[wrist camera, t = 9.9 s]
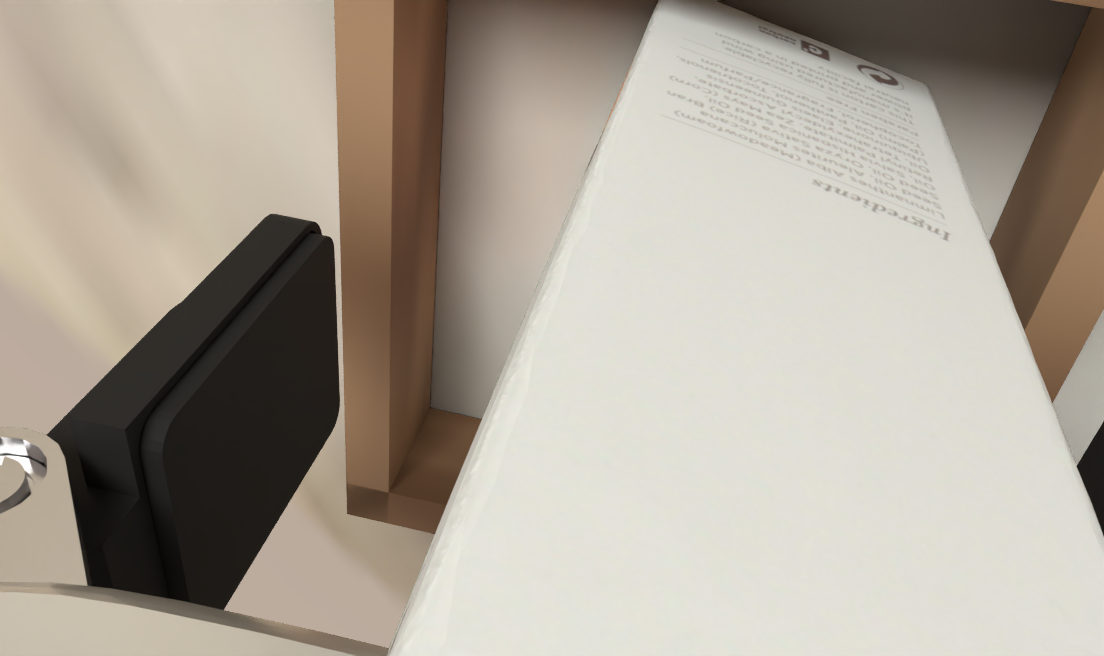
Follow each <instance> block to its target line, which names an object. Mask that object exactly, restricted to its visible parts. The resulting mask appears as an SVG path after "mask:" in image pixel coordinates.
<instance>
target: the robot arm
mask: <svg viewBox="0 0 1104 656" xmlns="http://www.w3.org/2000/svg"><path fill="white" fill-rule="evenodd" d="M339 407H340V395H339V367H338V340H337V312H336V285H335V257H334V244H333V241H332V239H331V238H330V237H328V236H323V235H322V233H321V229H320V227H319V225H318V224H317V223H316V222H312V221H307V220H302V219H297V218H292V217H287V216H282V215H277V214H270V215H268V216H267V217H265V218H264V219H263V220H262V221H261V222H260V223H259V224H258V225H257V226H256V227H255V228H254V229H253V230H252V231H251V232H250V233H249V235H248V236H247V237H246V238H245V239H244V240H243V241H242V242H241V243H240V244H239V245H238V246H237V247H236V248H235V249H234V250H233V251H232V252H231V253H230V254H229V255H228V256H227V257H226V258H225V259H224V260H223V261H222V262H221V263H220V264H219V265H218V266H217V267H216V268H215V269H214V270H213V271H212V272H211V273H210V274H209V275H208V276H207V277H206V278H205V279H204V280H203V281H202V282H201V283H200V284H199V285H198V286H197V287H196V288H195V289H194V290H193V291H192V292H191V293H190V294H189V295H188V296H187V297H186V298H185V299H184V300H183V301H182V302H181V303H179V304H178V305H177V306H175V307H174V308H173V309H171V310H170V311H169V312H168V313H167V314H166V315H165V316H164V317H163V318H162V319H161V320H160V321H159V322H158V323H157V324H156V325H155V326H154V327H153V328H152V329H151V330H150V331H149V332H148V333H147V334H146V335H145V336H144V337H143V338H142V339H141V340H140V341H139V342H138V343H137V344H136V345H135V346H134V347H133V348H132V349H131V350H130V351H129V352H128V353H127V354H126V355H125V356H124V357H123V358H122V359H121V361H120V362H119V363H118V364H117V365H116V366H115V367H114V368H113V369H112V370H111V371H110V372H109V373H108V374H107V375H106V376H105V377H104V378H103V379H102V380H101V381H100V382H99V383H98V384H97V385H96V386H95V387H94V388H93V389H92V390H91V391H90V392H89V393H88V394H87V395H86V396H85V397H84V398H83V399H82V400H81V401H80V402H79V403H78V404H77V405H76V406H75V407H74V408H73V409H72V410H71V411H70V412H69V413H68V414H67V415H66V416H65V417H64V418H63V419H62V420H61V421H60V422H59V423H58V424H57V425H56V426H55V427H54V428H53V429H52V430H51V431H50V432H49V433H48V434H47V435H46V434H43V433H40V432H36V431H33V430H30V429H27V428H14V427H0V656H387V654H388V650H389V648H385V647H381V646H377V645H373V644H368V643H365V642H361V641H356V640H352V639H348V638H343V637H339V636H335V635H331V634H327V633H323V632H319V631H314V630H310V629H305V628H301V627H296V626H291V625H287V624H283V623H279V622H274V621H269V620H265V619H261V618H255V617H252V616H247V615H243V614H238V613H234V612H229V611H224V608H225V607H226V605H227V603H228V602H229V600H230V598H231V597H232V595H233V593H234V592H235V590H236V589H237V587H238V585H239V583H240V582H241V580H242V579H243V577H244V575H245V574H246V572H247V570H248V569H249V567H250V565H251V564H252V562H253V561H254V559H255V557H256V556H257V554H258V552H259V551H260V549H261V548H262V546H263V544H264V543H265V541H266V539H267V537H268V536H269V534H270V533H271V531H272V529H273V528H274V526H275V524H276V523H277V521H278V520H279V518H280V516H281V514H282V513H283V511H284V510H285V508H286V506H287V505H288V503H289V501H290V500H291V498H292V497H293V495H294V493H295V492H296V490H297V488H298V487H299V485H300V483H301V482H302V480H303V478H304V477H305V475H306V474H307V472H308V470H309V469H310V467H311V465H312V464H313V462H314V460H315V459H316V457H317V455H318V454H319V452H320V450H321V449H322V447H323V446H324V444H325V442H326V441H327V439H328V437H329V436H330V434H331V432H332V430H333V428H334V426H335V424H336V421H337V417H338V413H339ZM1077 469H1078V471H1079V474H1080V476H1081V479H1082V481H1083V484H1084V486H1085V488H1086V491H1087V493H1088V496H1089V498H1090V501H1091V503H1092V506H1093V509H1094V511H1095V514H1096V517H1097V519H1098V522H1099V525H1100V528H1101V530H1102V533H1103V536H1104V422H1103V424H1102V425H1101V427H1100V428H1099V430H1098V432H1097V433H1096V435H1095V437H1094V438H1093V440H1092V442H1091V443H1090V445H1089V447H1088V448H1087V450H1086V452H1085V453H1084V455H1083V457H1082V458H1081V460H1080V462H1079V463H1078V465H1077Z"/></svg>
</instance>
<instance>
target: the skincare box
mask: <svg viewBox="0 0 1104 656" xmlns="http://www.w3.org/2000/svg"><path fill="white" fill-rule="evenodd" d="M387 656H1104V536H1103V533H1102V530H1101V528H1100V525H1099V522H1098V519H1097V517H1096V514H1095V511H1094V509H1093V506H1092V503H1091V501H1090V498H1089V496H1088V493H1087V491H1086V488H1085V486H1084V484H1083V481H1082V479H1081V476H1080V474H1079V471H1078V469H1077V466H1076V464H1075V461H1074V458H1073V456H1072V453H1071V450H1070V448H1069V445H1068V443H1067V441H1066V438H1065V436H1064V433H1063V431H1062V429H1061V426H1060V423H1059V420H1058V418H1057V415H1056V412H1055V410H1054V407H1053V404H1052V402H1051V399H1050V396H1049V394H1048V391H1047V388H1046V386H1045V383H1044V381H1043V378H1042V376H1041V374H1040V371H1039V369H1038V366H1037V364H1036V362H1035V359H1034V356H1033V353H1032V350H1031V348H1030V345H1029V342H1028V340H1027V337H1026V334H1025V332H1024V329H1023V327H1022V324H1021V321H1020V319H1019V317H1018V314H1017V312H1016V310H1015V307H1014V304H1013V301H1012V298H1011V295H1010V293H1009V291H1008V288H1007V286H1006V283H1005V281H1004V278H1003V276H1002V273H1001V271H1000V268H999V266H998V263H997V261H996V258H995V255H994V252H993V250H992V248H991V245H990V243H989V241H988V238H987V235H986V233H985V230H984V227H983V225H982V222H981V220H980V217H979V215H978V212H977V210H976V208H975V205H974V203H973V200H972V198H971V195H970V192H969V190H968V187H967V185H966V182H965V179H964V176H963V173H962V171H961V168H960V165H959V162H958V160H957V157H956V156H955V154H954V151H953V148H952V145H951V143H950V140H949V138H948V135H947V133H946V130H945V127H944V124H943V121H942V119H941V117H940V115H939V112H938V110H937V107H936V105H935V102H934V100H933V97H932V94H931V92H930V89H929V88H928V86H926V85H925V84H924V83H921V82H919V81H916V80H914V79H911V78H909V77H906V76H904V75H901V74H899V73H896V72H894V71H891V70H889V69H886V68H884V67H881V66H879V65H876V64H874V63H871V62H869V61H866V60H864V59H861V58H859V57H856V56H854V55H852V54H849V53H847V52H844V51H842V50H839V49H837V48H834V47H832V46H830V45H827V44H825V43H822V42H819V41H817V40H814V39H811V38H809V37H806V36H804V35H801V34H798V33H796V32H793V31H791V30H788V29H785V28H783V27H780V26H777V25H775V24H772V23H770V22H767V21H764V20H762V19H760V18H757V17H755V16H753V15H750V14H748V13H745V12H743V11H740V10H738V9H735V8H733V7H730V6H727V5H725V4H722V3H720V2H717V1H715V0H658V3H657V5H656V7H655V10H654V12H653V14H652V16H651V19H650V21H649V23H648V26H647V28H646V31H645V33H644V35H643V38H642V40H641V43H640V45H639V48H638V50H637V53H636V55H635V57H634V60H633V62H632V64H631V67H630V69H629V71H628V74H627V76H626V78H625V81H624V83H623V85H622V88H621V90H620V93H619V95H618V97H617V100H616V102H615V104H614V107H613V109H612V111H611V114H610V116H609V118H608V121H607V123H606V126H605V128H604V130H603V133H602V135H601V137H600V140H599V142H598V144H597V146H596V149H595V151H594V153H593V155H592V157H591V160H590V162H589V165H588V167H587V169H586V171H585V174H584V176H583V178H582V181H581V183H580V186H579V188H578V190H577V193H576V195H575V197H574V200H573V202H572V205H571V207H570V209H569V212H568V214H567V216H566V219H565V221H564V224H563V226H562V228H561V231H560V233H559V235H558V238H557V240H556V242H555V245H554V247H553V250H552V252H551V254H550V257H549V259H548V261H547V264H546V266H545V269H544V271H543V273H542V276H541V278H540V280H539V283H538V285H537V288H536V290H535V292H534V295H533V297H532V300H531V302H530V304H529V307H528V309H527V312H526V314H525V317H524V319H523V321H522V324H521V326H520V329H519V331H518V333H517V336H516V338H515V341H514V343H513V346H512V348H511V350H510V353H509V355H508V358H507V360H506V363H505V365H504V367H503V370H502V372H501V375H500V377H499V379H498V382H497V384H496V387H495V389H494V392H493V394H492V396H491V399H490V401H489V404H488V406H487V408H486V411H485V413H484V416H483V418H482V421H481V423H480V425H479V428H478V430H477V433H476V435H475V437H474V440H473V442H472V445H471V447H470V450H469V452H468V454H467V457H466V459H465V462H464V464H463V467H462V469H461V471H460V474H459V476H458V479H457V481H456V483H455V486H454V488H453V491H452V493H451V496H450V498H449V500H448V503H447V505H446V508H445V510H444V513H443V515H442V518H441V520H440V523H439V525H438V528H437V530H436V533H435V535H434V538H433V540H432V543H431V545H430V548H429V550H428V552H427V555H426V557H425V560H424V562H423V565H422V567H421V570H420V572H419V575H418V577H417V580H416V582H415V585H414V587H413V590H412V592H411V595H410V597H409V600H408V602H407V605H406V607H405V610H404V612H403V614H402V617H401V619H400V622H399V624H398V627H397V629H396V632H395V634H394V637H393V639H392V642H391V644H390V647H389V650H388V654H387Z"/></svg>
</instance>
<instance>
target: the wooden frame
mask: <svg viewBox="0 0 1104 656" xmlns="http://www.w3.org/2000/svg"><path fill="white" fill-rule="evenodd" d="M1052 1H1058V2H1065V3H1071V4H1077V5H1084V6H1090V7H1092V9H1091V11H1090V13H1089V16H1088V18H1087V20H1086V23H1085V25H1084V27H1083V29H1082V32H1081V34H1080V36H1079V39H1078V41H1077V43H1076V45H1075V48H1074V50H1073V52H1072V55H1071V57H1070V59H1069V62H1068V64H1067V66H1066V68H1065V71H1064V73H1063V75H1062V78H1061V80H1060V82H1059V84H1058V87H1057V89H1056V91H1055V94H1054V96H1053V98H1052V101H1051V103H1050V105H1049V107H1048V110H1047V112H1046V114H1045V117H1044V119H1043V121H1042V123H1041V126H1040V128H1039V130H1038V133H1037V135H1036V137H1035V140H1034V142H1033V144H1032V146H1031V149H1030V151H1029V153H1028V156H1027V158H1026V160H1025V163H1024V165H1023V167H1022V169H1021V172H1020V174H1019V176H1018V179H1017V181H1016V183H1015V185H1014V188H1013V190H1012V192H1011V195H1010V197H1009V199H1008V202H1007V204H1006V206H1005V208H1004V211H1003V213H1002V215H1001V218H1000V220H999V222H998V224H997V227H996V229H995V231H994V234H993V236H992V238H991V241H990V245H991V248H992V250H993V252H994V255H995V258H996V261H997V263H998V266H999V268H1000V271H1001V273H1002V276H1003V278H1004V281H1005V283H1006V286H1007V288H1008V291H1009V293H1010V295H1011V298H1012V301H1013V304H1014V307H1015V310H1016V312H1017V314H1018V317H1019V319H1020V321H1021V324H1022V327H1023V329H1024V332H1025V334H1026V337H1027V340H1028V342H1029V345H1030V348H1031V350H1032V353H1033V356H1034V359H1035V362H1036V364H1037V366H1038V369H1039V371H1040V374H1041V376H1042V378H1043V381H1044V383H1045V386H1046V388H1047V391H1048V394H1049V396H1050V399H1051V402H1052V403H1053V401H1054V399H1055V397H1056V396H1057V394H1058V392H1059V390H1060V388H1061V386H1062V384H1063V383H1064V381H1065V379H1066V377H1067V375H1068V373H1069V372H1070V370H1071V368H1072V366H1073V364H1074V362H1075V360H1076V359H1077V357H1078V355H1079V353H1080V351H1081V349H1082V348H1083V346H1084V344H1085V342H1086V340H1087V338H1088V337H1089V335H1090V333H1091V331H1092V329H1093V327H1094V325H1095V324H1096V322H1097V320H1098V318H1099V316H1100V314H1101V313H1102V311H1103V309H1104V0H1052ZM447 2H448V0H334V9H335V48H336V88H337V128H338V167H339V207H340V246H341V286H342V325H343V365H344V405H345V444H346V484H347V514H350V515H354V516H359V517H363V518H367V519H372V520H376V521H381V522H385V523H389V524H394V525H398V526H402V527H407V528H411V529H416V530H420V531H424V532H429V533H433V534H435V533H436V530H437V528H438V525H439V523H440V520H441V518H442V515H443V513H444V510H445V508H446V505H447V503H448V500H449V498H450V496H451V493H452V491H453V488H454V486H455V483H456V481H457V479H458V476H459V474H460V471H461V469H462V467H463V464H464V462H465V459H466V457H467V454H468V452H469V450H470V447H471V445H472V442H473V440H474V437H475V435H476V433H477V430H478V428H479V425H480V423H481V421H482V419H479V418H474V417H469V416H465V415H460V414H455V413H451V412H446V411H441V410H437V409H432V408H430V394H431V371H432V348H433V325H434V302H435V279H436V256H437V233H438V210H439V187H440V164H441V141H442V118H443V94H444V71H445V48H446V25H447Z"/></svg>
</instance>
